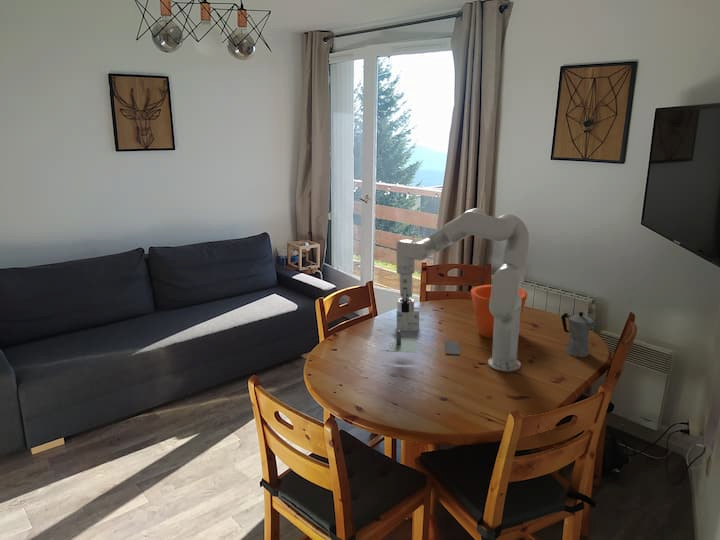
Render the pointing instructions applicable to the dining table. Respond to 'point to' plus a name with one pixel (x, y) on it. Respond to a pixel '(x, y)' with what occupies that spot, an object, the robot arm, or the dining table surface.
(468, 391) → the dining table surface
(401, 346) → the peg stand
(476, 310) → the flowerpot
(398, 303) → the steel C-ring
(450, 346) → the charcoal mat
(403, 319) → the light bulb box
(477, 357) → the dining table surface
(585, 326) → the coffeepot
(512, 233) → the robot arm
